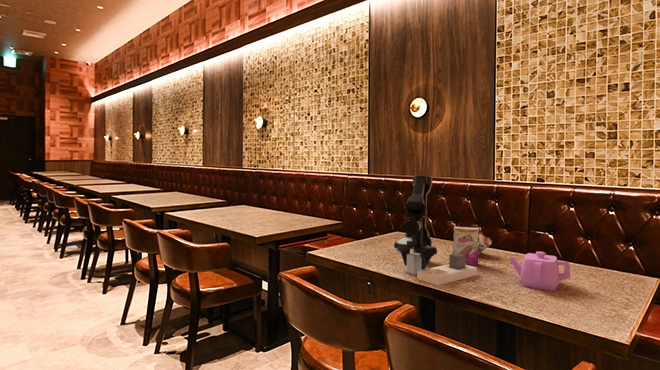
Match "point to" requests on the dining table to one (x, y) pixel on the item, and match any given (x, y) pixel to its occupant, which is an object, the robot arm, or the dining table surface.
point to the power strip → (445, 274)
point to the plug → (413, 263)
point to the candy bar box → (466, 243)
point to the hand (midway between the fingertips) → (414, 268)
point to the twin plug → (457, 261)
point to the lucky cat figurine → (483, 242)
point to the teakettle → (541, 271)
